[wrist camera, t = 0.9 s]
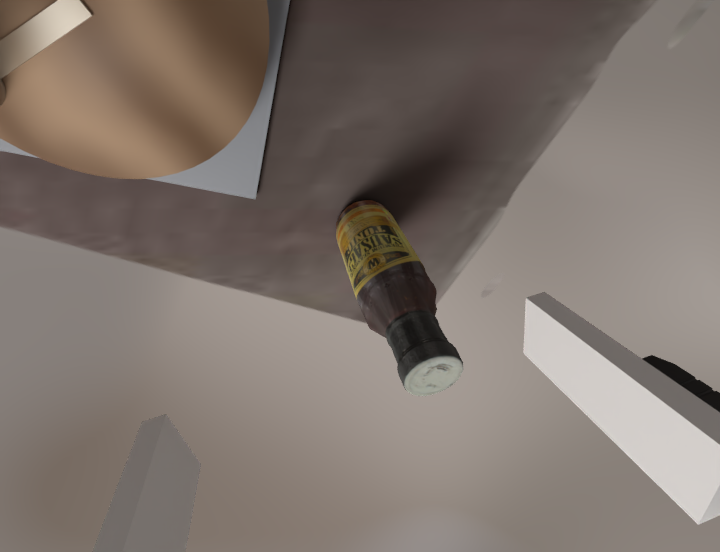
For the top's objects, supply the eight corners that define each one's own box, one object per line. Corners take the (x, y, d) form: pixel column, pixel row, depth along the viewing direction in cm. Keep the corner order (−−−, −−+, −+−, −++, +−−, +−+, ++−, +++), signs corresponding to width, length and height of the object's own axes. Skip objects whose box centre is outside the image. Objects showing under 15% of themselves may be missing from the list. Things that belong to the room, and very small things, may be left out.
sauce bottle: (372, 184, 35) (472, 319, 19) (399, 228, 39) (500, 369, 23) (318, 221, 36) (373, 378, 20) (350, 260, 39) (416, 417, 24)
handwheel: (81, -397, 15) (-217, -1142, 5) (319, 79, 27) (358, 112, 18) (-260, -119, 16) (-951, -304, 7) (112, 209, 29) (47, 303, 19)
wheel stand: (-263, -472, 13) (-289, -497, 12) (312, -137, 21) (314, -141, 21) (-76, 131, 24) (-84, 134, 23) (255, 195, 32) (255, 199, 32)
